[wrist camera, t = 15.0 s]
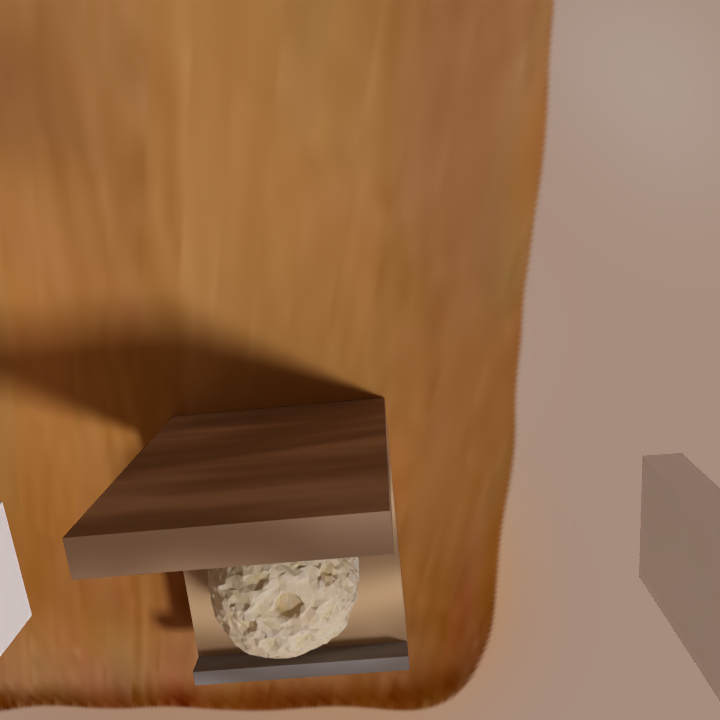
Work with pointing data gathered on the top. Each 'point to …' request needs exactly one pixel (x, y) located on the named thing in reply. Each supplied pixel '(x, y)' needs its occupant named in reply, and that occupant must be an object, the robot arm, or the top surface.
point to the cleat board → (260, 524)
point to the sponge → (284, 604)
